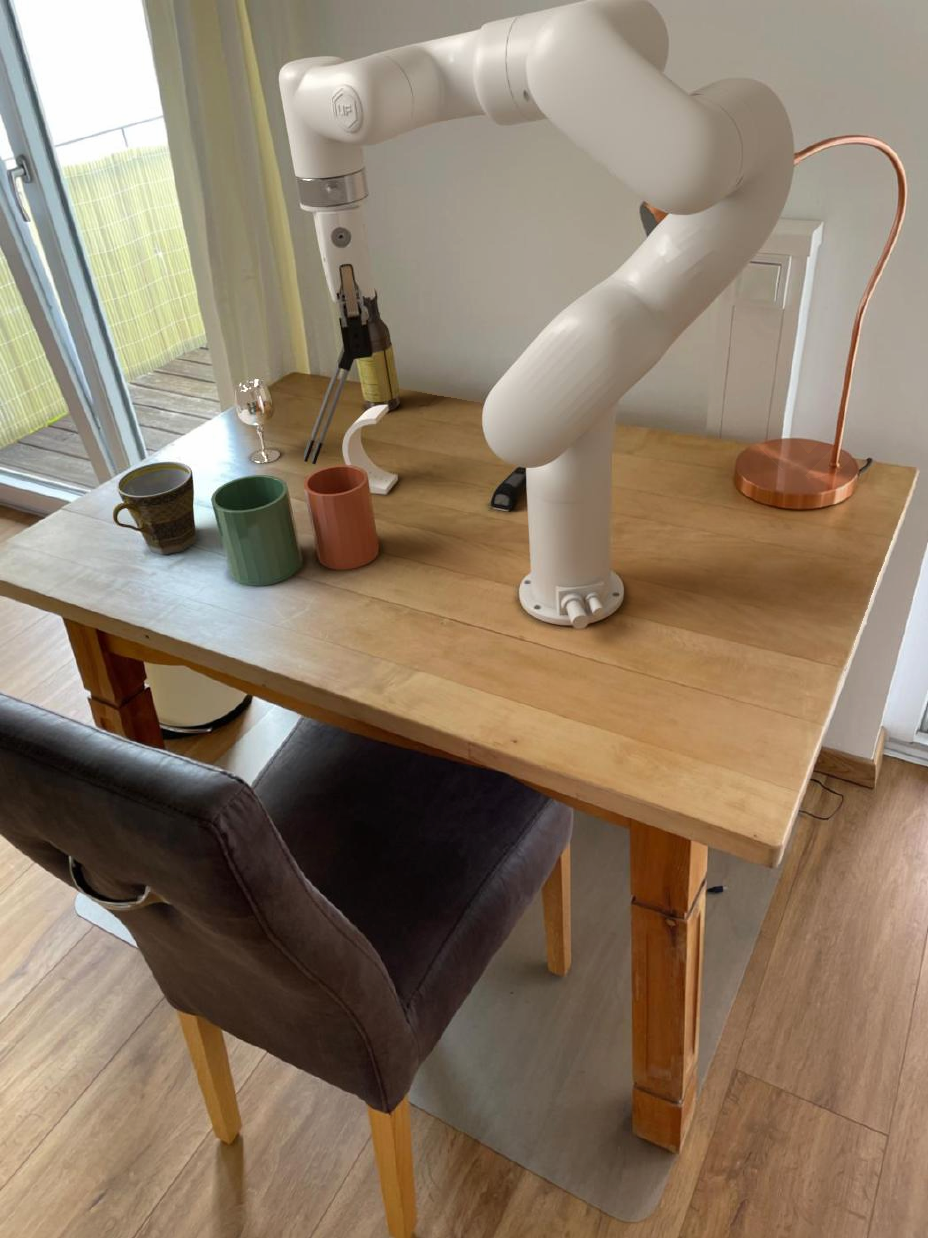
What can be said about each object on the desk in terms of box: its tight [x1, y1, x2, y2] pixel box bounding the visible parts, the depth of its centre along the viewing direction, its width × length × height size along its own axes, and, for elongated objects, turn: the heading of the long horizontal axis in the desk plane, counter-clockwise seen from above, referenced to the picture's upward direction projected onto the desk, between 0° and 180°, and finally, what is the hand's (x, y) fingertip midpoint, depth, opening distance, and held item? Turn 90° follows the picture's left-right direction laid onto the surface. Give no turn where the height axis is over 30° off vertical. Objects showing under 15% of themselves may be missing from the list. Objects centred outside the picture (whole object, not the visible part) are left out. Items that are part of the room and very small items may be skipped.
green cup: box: [210, 474, 303, 587], centre depth 130 cm, size 10×10×11 cm
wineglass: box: [234, 379, 281, 464], centre depth 156 cm, size 6×6×12 cm
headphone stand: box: [341, 405, 399, 495], centre depth 146 cm, size 5×6×12 cm
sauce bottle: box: [356, 288, 401, 412], centre depth 166 cm, size 6×6×20 cm
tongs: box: [303, 306, 369, 465], centre depth 121 cm, size 2×10×18 cm, turn 99°
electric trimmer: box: [490, 467, 527, 512], centre depth 145 cm, size 4×16×3 cm, turn 153°
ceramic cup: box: [112, 461, 197, 556], centre depth 136 cm, size 13×10×10 cm
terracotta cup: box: [303, 464, 380, 571], centre depth 131 cm, size 8×8×11 cm
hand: (358, 352), depth 119 cm, fingers closed on tongs, 2 cm apart
